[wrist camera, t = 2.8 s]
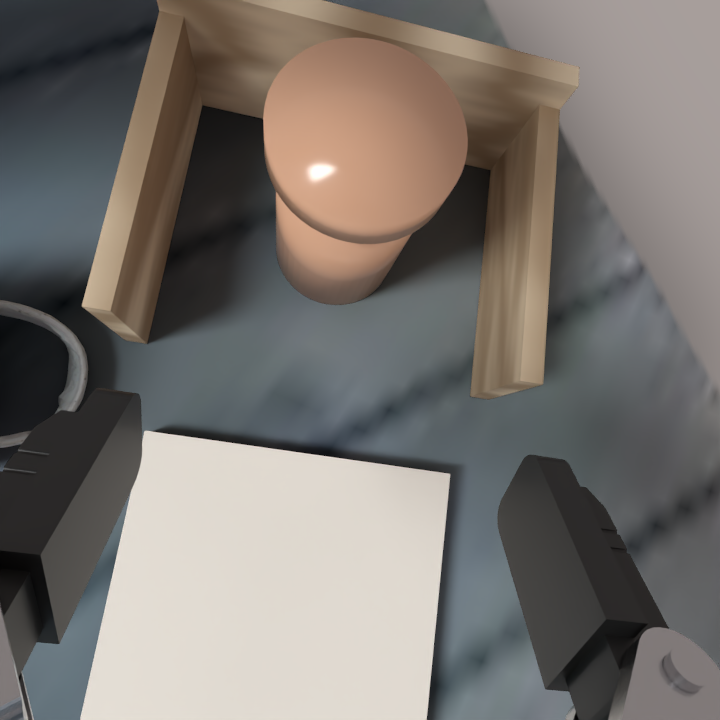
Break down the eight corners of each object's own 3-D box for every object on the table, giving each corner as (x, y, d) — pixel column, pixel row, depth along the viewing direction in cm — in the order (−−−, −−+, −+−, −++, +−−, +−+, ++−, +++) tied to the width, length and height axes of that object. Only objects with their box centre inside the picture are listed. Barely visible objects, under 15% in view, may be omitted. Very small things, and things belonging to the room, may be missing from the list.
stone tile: (72, 782, 20) (62, 798, 19) (150, 431, 23) (144, 430, 22) (411, 800, 22) (417, 815, 21) (443, 473, 25) (450, 473, 24)
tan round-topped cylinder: (257, 299, 25) (245, 199, 16) (280, 176, 27) (282, 15, 17) (390, 323, 26) (457, 243, 16) (405, 203, 28) (476, 64, 18)
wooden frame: (125, 340, 24) (65, 293, 17) (186, 84, 27) (156, -43, 20) (488, 399, 26) (563, 378, 19) (508, 158, 29) (579, 67, 22)
